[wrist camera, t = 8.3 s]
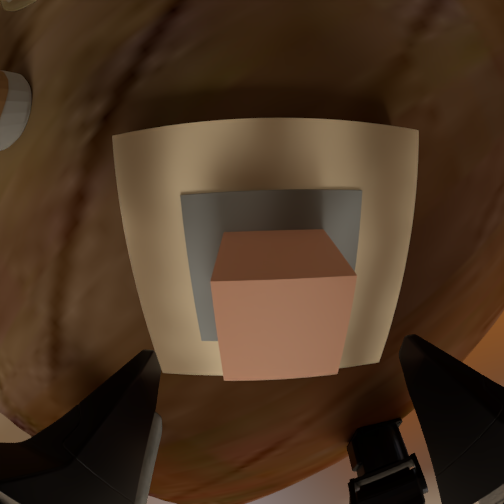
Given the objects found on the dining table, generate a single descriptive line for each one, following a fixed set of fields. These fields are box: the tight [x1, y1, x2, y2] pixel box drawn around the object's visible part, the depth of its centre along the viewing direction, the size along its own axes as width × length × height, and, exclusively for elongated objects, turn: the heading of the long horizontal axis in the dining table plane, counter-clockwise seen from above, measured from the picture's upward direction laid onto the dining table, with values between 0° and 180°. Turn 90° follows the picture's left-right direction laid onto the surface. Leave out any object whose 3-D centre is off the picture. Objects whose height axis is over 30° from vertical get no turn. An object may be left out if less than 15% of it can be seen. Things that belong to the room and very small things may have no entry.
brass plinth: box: [112, 118, 419, 375], centre depth 16 cm, size 16×16×3 cm
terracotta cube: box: [210, 229, 357, 381], centre depth 12 cm, size 5×5×5 cm
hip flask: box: [135, 412, 162, 504], centre depth 19 cm, size 16×4×20 cm, turn 157°
